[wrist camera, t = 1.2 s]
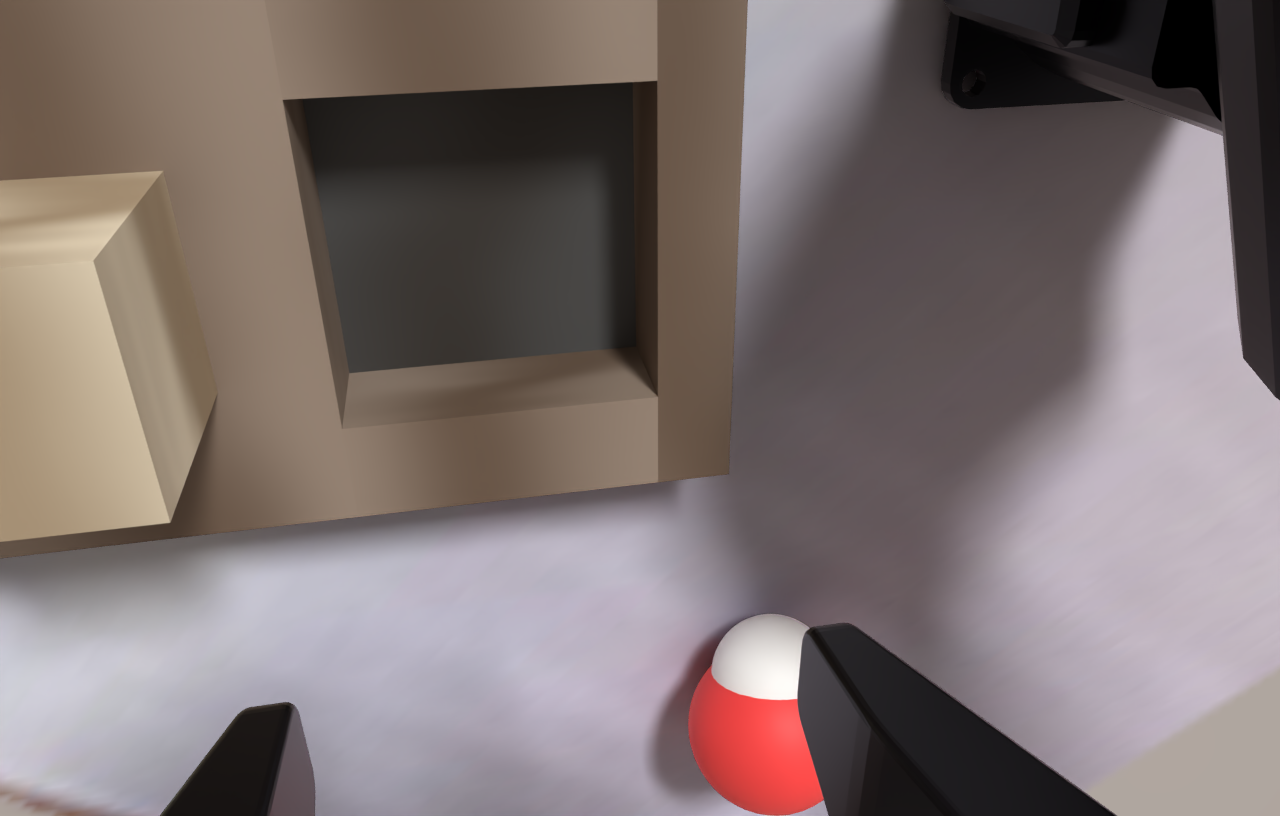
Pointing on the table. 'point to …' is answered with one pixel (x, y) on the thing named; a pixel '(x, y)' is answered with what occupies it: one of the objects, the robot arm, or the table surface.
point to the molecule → (755, 719)
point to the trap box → (416, 235)
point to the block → (96, 356)
